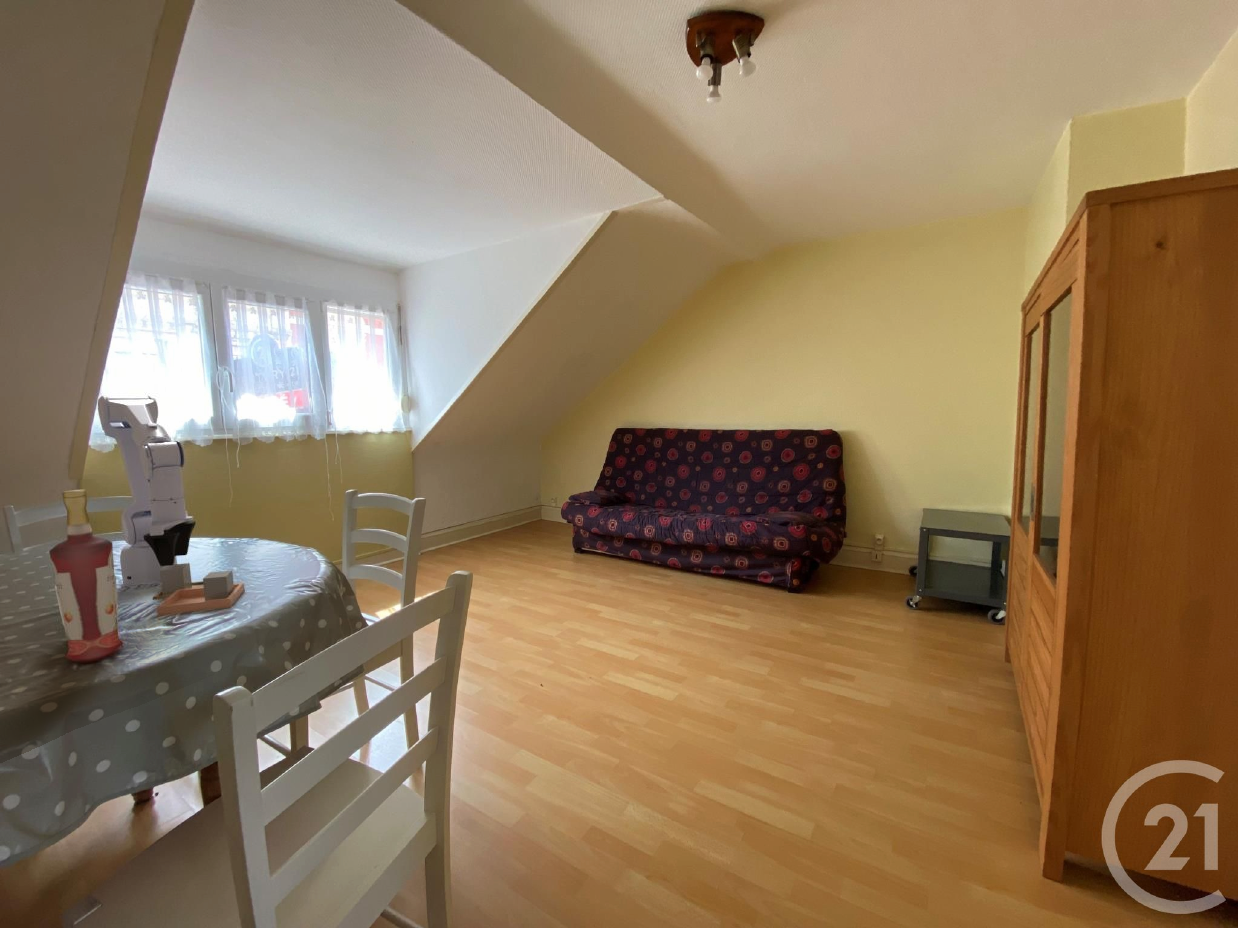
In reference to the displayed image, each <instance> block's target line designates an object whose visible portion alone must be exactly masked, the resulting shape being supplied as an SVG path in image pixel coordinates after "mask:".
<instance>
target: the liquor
mask: <svg viewBox="0 0 1238 928" xmlns="http://www.w3.org/2000/svg"><path fill="white" fill-rule="evenodd" d="M61 493H62V499H63V504H64V507H65V509H66V513H67V514H66V518H67V519H66V531H67V533H66V535H67V536H66V538H67V539H66V540H64V541H61V542H60V543H58V544H56V545H55V546H53V547H52V548H51V549H50V550H48V551H49V557H50V562H51V567H52V571H53V572H52V573H53V577H54V582H55V583H54V584H55V586H56V587H57V591H58V595H59V599H60V604H61V608H62V613H63V618H64V623H65V627H64V629H65V628H66V632H65V635H66V634H67V637H66V640H67V639H68V640H67V644H68V652H67V654H66V655H65V657H66V658H67V659H68V660H71V661H74V662H77V663H78V664H89V663H94V662H100V661H102V660H105V659H107V658H110V657H112V656H113V655H114V654H115V653H116V652H117V651H118V650H119V649H120V648H121V647H122V646H123V645H124V642H123V641H122V639H120V637H119V623H118V624H117V617H118V615H117V613H116V599H115V576H116V575H115V562H114V549H113V541H111V540H109V539H106V538H104V537H100V536H95V535H94V533H93V529H92V526H91V523H90V518H89V515H88V511H87V504H88V503H87V502H88V498H87V497H88V496H87V490H86V489H73V490H63V491H62V492H61Z"/></svg>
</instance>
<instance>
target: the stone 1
mask: <svg viewBox="0 0 1238 928" xmlns="http://www.w3.org/2000/svg"><path fill="white" fill-rule="evenodd" d="M191 573H192V572H191V564H190V563H189V562H188V563H187V562H186V563H177V564H174V565H170V566H165V567H164V568H163V569H161V570H160V578H161V583H160V584H161V585H160V586H161V590H162V595H169V594H173V593H174V592H175V591H176V590H180V589H189V588H191V587H192V582H193V581H192V574H191Z"/></svg>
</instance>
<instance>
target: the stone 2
mask: <svg viewBox="0 0 1238 928" xmlns="http://www.w3.org/2000/svg"><path fill="white" fill-rule="evenodd" d="M202 581H203V585H204V595H205V601H207V600H215V599H224V598H228V597H229V595H230V594H231V593H232V592H233V591H234V584H235V583H234V575H233V570H224V571H213V572H212V571H211V572H209V573H208V574H206V575H205V576H204V577H202Z"/></svg>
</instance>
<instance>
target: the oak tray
mask: <svg viewBox="0 0 1238 928" xmlns="http://www.w3.org/2000/svg"><path fill="white" fill-rule="evenodd" d="M199 587H204V585H203V580H200V581H192V587H191V588H199ZM170 595H172V594H169V595H162V589H160V591H158V592H157V593H156V594H154V595H153V596H152V597H151V598H152V600H154V601H155V600H162V599H164V600H165V599H167V598H168V597H169V596H170Z"/></svg>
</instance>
